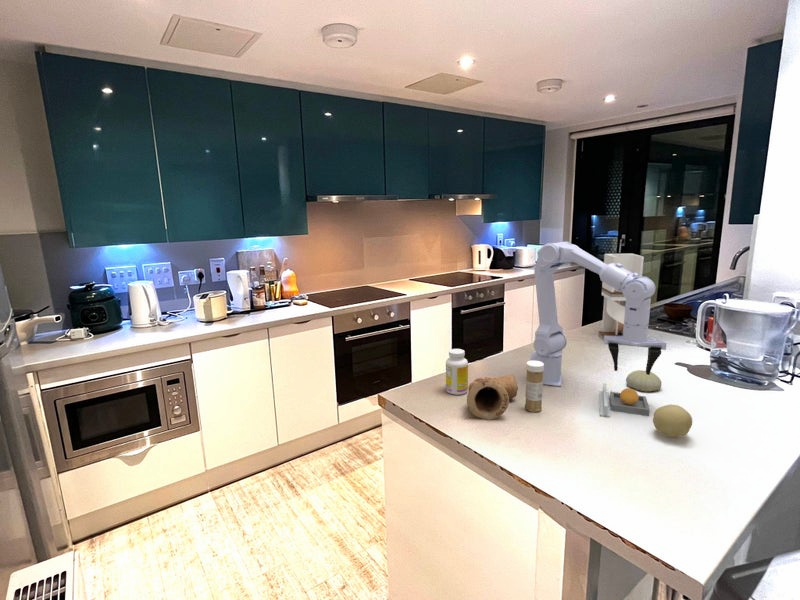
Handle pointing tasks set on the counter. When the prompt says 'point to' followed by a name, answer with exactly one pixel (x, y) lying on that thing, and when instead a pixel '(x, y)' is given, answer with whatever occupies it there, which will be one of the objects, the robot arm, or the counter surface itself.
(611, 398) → the dish
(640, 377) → the sea urchin shell
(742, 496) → the counter surface
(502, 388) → the clay pipe
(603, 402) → the divider
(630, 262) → the tall curved cream stand
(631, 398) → the ball
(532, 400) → the sprinkles bottle
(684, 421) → the potato
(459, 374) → the supplement bottle
